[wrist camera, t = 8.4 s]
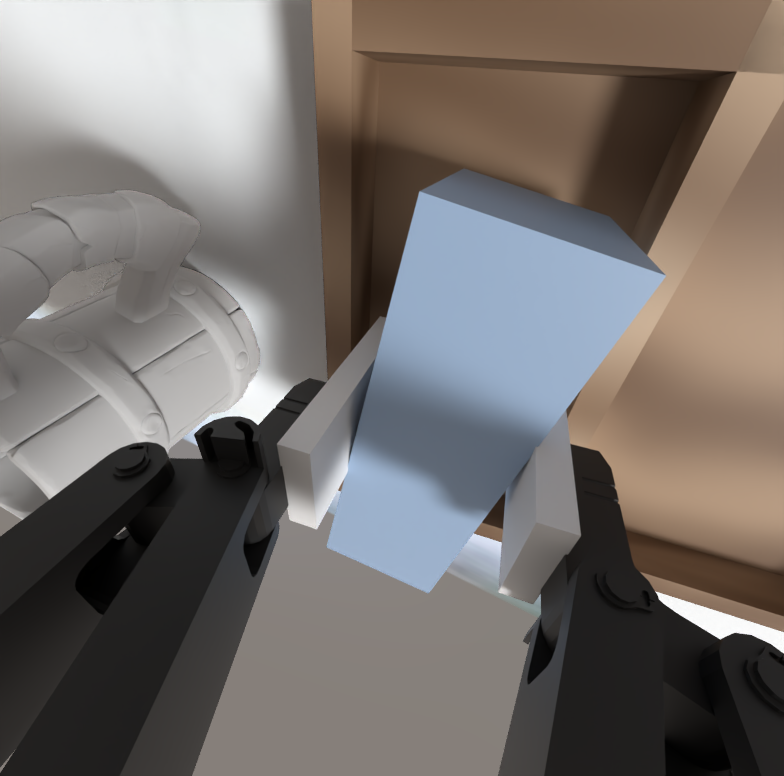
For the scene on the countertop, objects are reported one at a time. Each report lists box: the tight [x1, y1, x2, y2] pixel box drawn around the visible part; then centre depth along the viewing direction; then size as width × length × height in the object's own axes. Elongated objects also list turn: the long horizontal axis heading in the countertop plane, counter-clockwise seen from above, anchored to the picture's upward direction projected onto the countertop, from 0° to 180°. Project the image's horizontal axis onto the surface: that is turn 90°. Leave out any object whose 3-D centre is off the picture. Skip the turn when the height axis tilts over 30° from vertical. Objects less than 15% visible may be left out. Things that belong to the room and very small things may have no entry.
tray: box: [311, 0, 784, 632], centre depth 12 cm, size 18×23×2 cm
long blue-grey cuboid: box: [327, 168, 666, 593], centre depth 11 cm, size 12×4×5 cm, turn 166°
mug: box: [0, 190, 260, 520], centre depth 13 cm, size 8×12×12 cm, turn 155°
